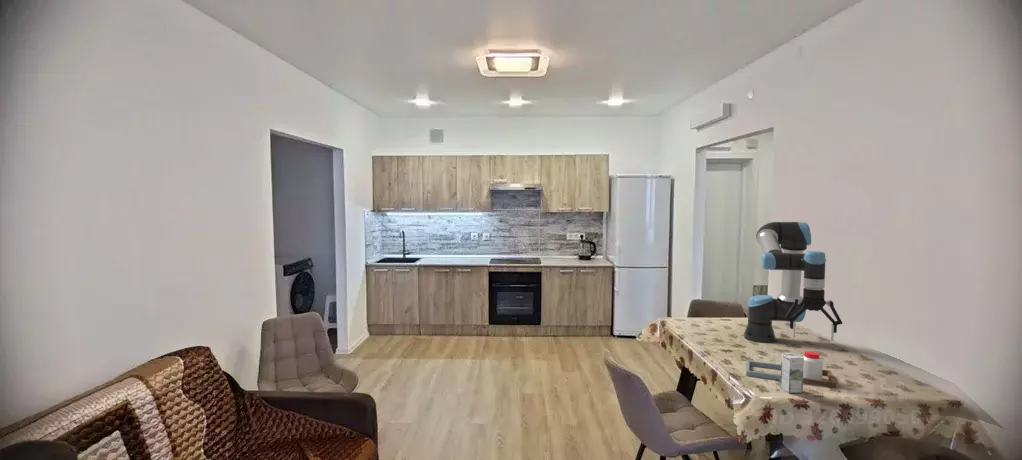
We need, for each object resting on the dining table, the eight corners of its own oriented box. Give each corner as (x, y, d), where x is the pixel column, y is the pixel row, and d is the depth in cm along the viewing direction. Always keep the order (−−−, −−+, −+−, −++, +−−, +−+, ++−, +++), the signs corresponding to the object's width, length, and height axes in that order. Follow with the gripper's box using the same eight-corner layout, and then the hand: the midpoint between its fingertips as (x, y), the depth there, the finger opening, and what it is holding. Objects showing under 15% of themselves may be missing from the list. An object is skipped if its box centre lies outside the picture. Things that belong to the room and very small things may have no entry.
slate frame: (746, 364, 222) (746, 360, 221) (784, 369, 215) (784, 364, 215) (746, 375, 208) (746, 371, 208) (787, 381, 201) (787, 376, 201)
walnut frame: (788, 369, 214) (789, 365, 214) (830, 375, 207) (830, 370, 207) (791, 381, 200) (791, 377, 200) (835, 387, 193) (836, 383, 193)
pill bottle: (811, 382, 199) (812, 356, 198) (796, 376, 206) (796, 351, 206) (826, 380, 201) (827, 355, 200) (810, 374, 209) (811, 349, 208)
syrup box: (793, 387, 194) (794, 352, 193) (803, 393, 189) (804, 357, 188) (780, 387, 194) (780, 352, 193) (788, 393, 188) (789, 357, 187)
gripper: (780, 287, 203) (779, 337, 205) (851, 292, 192) (850, 344, 194) (779, 284, 210) (778, 332, 211) (848, 288, 199) (846, 339, 200)
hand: (812, 338), depth 202 cm, fingers open, 13 cm apart
